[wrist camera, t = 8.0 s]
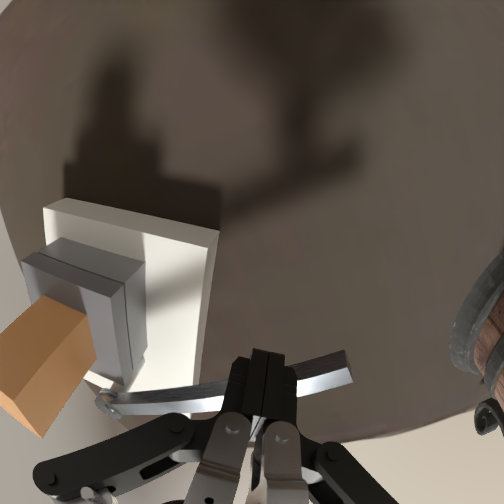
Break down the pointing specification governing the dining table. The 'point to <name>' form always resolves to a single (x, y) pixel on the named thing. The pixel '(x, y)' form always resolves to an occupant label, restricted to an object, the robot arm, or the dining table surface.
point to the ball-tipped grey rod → (220, 390)
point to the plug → (61, 340)
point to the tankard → (483, 342)
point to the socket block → (143, 284)
